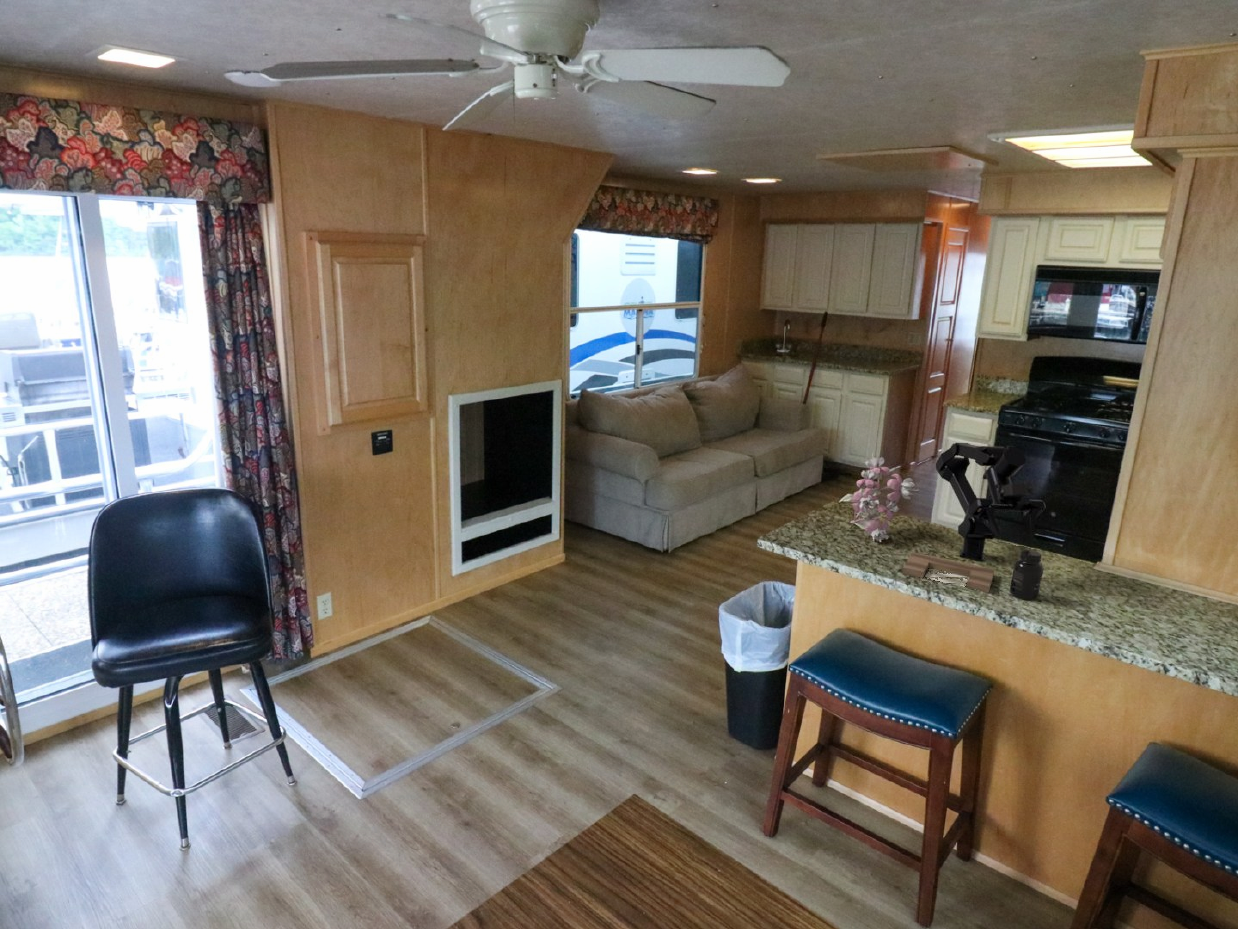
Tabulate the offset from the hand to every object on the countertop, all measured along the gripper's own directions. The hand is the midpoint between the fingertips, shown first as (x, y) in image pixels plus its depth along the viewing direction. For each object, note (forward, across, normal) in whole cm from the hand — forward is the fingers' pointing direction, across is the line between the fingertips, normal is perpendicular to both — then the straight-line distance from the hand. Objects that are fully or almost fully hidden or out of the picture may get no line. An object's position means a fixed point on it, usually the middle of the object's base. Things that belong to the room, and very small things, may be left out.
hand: (1014, 535), depth 206 cm
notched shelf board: (+6, -14, +14) cm, 20 cm away
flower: (-17, -24, +35) cm, 46 cm away
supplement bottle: (+15, +1, +5) cm, 16 cm away
